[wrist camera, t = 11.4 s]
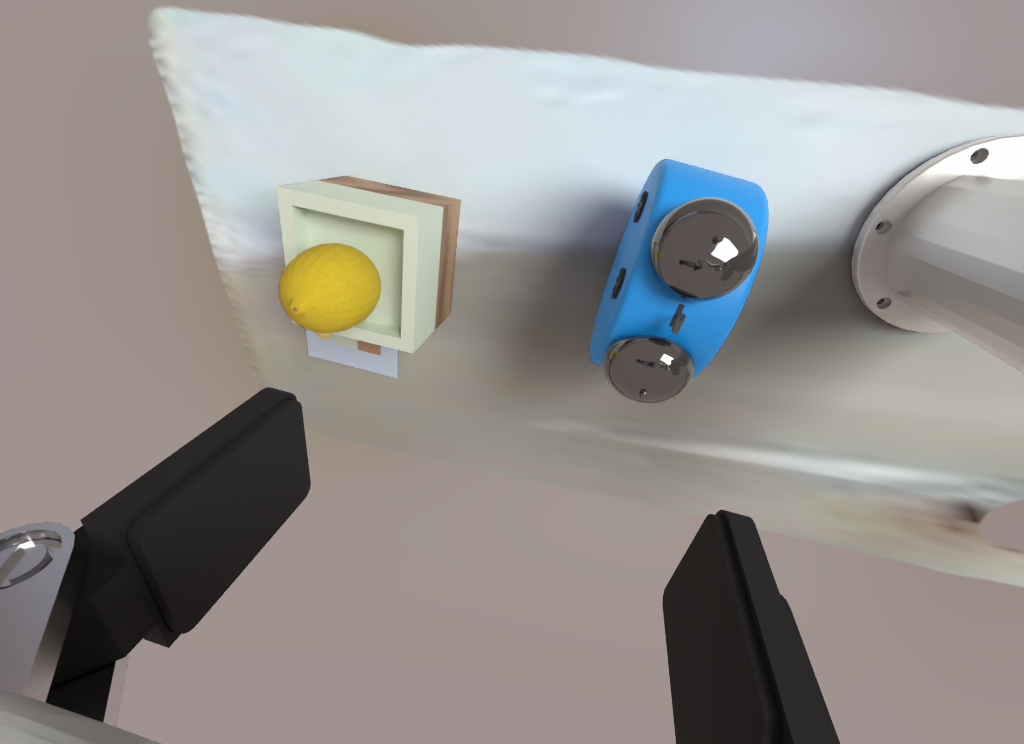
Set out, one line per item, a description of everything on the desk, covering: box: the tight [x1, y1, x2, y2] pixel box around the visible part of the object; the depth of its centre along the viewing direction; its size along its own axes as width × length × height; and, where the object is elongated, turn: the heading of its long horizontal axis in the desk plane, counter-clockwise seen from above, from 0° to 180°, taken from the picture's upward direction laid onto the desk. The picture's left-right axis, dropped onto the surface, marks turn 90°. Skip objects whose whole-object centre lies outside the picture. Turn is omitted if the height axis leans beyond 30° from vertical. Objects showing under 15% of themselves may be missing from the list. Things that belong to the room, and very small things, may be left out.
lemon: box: [278, 243, 381, 333], centre depth 28 cm, size 6×6×8 cm
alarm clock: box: [589, 159, 768, 404], centre depth 27 cm, size 13×6×15 cm, turn 166°
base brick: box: [318, 176, 461, 329], centre depth 36 cm, size 10×10×4 cm
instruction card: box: [306, 329, 398, 378], centre depth 43 cm, size 10×7×1 cm
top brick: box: [276, 180, 443, 354], centre depth 32 cm, size 10×10×4 cm
